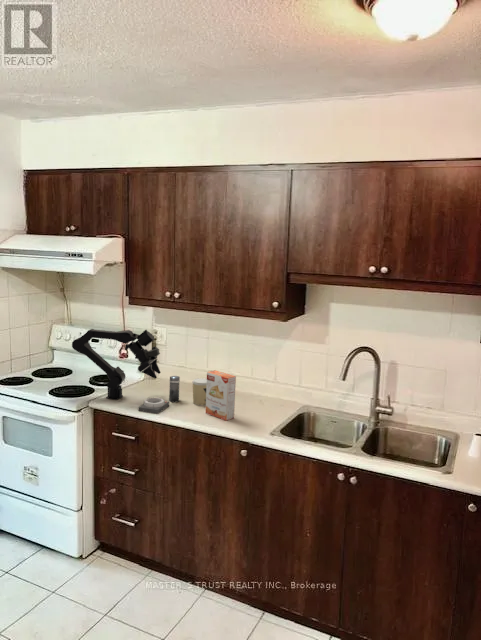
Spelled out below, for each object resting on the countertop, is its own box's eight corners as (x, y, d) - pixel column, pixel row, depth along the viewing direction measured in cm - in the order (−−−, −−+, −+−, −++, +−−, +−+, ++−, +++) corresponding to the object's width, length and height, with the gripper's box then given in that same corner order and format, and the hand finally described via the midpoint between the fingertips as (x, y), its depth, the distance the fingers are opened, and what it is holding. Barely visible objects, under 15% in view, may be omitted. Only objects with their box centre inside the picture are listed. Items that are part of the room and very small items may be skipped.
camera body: (138, 411, 250) (138, 403, 249) (150, 403, 262) (150, 395, 261) (157, 413, 247) (157, 405, 246) (168, 405, 259) (169, 398, 258)
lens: (167, 401, 266) (167, 377, 264) (171, 398, 271) (172, 375, 269) (176, 402, 264) (177, 378, 262) (180, 399, 269) (181, 376, 267)
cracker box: (204, 413, 250) (206, 371, 247) (213, 410, 255) (215, 369, 251) (225, 421, 241) (227, 377, 238) (234, 418, 246) (236, 375, 242)
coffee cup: (207, 407, 260) (208, 383, 258) (189, 405, 262) (190, 382, 260) (211, 401, 269) (212, 379, 267) (194, 399, 271) (195, 377, 269)
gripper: (146, 346, 253) (166, 371, 255) (155, 338, 272) (173, 362, 273) (129, 359, 255) (149, 384, 256) (139, 351, 273) (157, 374, 275)
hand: (158, 375), depth 265 cm, fingers open, 9 cm apart
